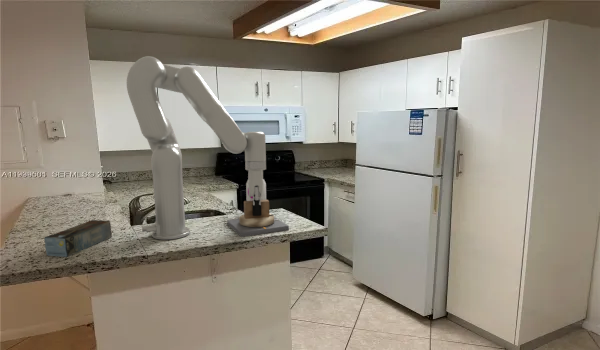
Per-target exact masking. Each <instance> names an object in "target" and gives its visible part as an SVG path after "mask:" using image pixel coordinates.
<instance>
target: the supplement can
mask: <svg viewBox="0 0 600 350" xmlns="http://www.w3.org/2000/svg"><path fill="white" fill-rule="evenodd" d="M245 186H246V187H245V188H246V189H245V190H246V191H245V192H246V193H245V194H246V195H245V196H246V201H253V196H251V198H250V197H249V186H248V180H247V181H246V183H245ZM260 197H261V196H260ZM261 200H267V183H266V181H265V178H263V194H262V197H261Z"/></svg>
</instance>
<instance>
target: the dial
mask: <svg viewBox="0 0 600 350" xmlns="http://www.w3.org/2000/svg"><path fill="white" fill-rule="evenodd" d="M261 213H262V215H261V216H253V201H247V200H244V201H243V214H242V215H240V216H238V217H239V218H238V219H239V223H240V225H242V226H247V227H263V226H268V225H271V224H273V223H274V217H275V215H274V214H272V213H270V201H269V199H266V200H261Z"/></svg>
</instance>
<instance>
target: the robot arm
mask: <svg viewBox="0 0 600 350" xmlns="http://www.w3.org/2000/svg"><path fill="white" fill-rule="evenodd" d="M156 88H158V89H162V90H167V91H170V92H175V93H179V94H182V95H183V96H184V97H185V100H187V101H188V103H189V104H190V106H191V107H192V109H194V111H195V112H196V114H198V116H199V117H200V118H201V120H202V121H203V122H204V123H206V124H207V126H209V127H210V128H211V130H212V131H213V132H214V133H215V135H216V136H217V137H218V138H219V140H220V142H221V143H222V146H223V147H224V148H225V150H226V151H228V152H229V153H232V154H236V155H237V154H241V153H242V152H244V162H245V165H244V166H245V167H244V168H245V170H246V171H247V172H248V174H247V175H248V176H247V178H248V179H247V181H248V186H249V197H250V198H251V196H253V216H261V215H262V213H261V197H262V194H263V179H264V171H265V170H267V155H266V154H267V151H266V148H267V147H266V134H265V132H263V131H248V132H243V131H242V130H241V129H240V127H239V126H238V124H237V123H236V122H235V120H234V119H233V117H231V115H230V114H229V113H228V112H227V110H226V108H224V106H223V104H222V103H221V102H220V100H219V99H218V97H217V96H216V95H215V93H213V91H212V90H211V88H210V87H209V85H208V84H207V83H206V82H205V80H204V79H203V77H202V75H200V73H199V72H198V71H197V70H196V69H195V68H194V67H191V66H183V67H179V68H178V67H175V66H171V65H167V64H165V63H162V61H161V60H160V59H158V58H156V57H155V56H151V55H150V56H149V55H146V56H143V57H140V58H139V59H137V60H136V61H135V62H134V63H133V64H132V65H131V67H130V68H129V70H128V72H127V76H126V91H127V94H128V97H129V100H130V103H131V106H132V109H133V111H134V114H135V118H136V120H137V122H138V126H139V129H140V131H141V135H142V136H143V137H144V138H145V139H146V140H147V142H148V145H149V148H150V150H151V152H152V154H151V159H150V165H151V166H150V167H151V174H152V181H153V182H152V183H153V195H154V197H153V199H154V209H155V210H154V211H155V221H154V223H152V224H151V225H143V226H141V232H142V233H143V232H144V233H151V232H152V233H151V237H152V238H154V239H156V240H162V241H163V240H165V241H167V240H176V239H181V238H184V237H186V236H188V235H189V234H191V229H190V228H189V227H188V226H187V227H186V217H185V216H186V215H185V198H184V197H185V196H184V181H183V155H182V151H181V148H180V146H179V142H178V139H177V137H176V135H175V132H174V129H173V127H172V124H171V122H170V120H169V119H168V118H167V116H166V115H165V113H164V110H163V107H162V105H161V102H160V99H159V97H158V93H157V90H156ZM260 196H261V197H260Z"/></svg>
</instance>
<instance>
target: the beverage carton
mask: <svg viewBox="0 0 600 350" xmlns="http://www.w3.org/2000/svg"><path fill="white" fill-rule="evenodd" d="M111 225H112V224H111V220H102V219H96V220H95V219H92V220H88V221H86V222H83V223H81V224H78V225H76V226H73V227H70V228H66V229H63V230H62V231H59V232H55V233H54V234H50V235H47V236H45V237H43V239H44V245H45V246H44V248H45V252H46V256H49V257H52V256H53V257H62V258H63V257H64V258H68V257H71V256H72V255H75V254H77V253H79V252H82V251H83V250H87V249H88V248H89V249H90V247H93V246H95V245H96V244H99V243H102V242H104V241H106V240H109V239H111V238H112V237H113V236H112V235H113V234H112V226H111Z"/></svg>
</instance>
